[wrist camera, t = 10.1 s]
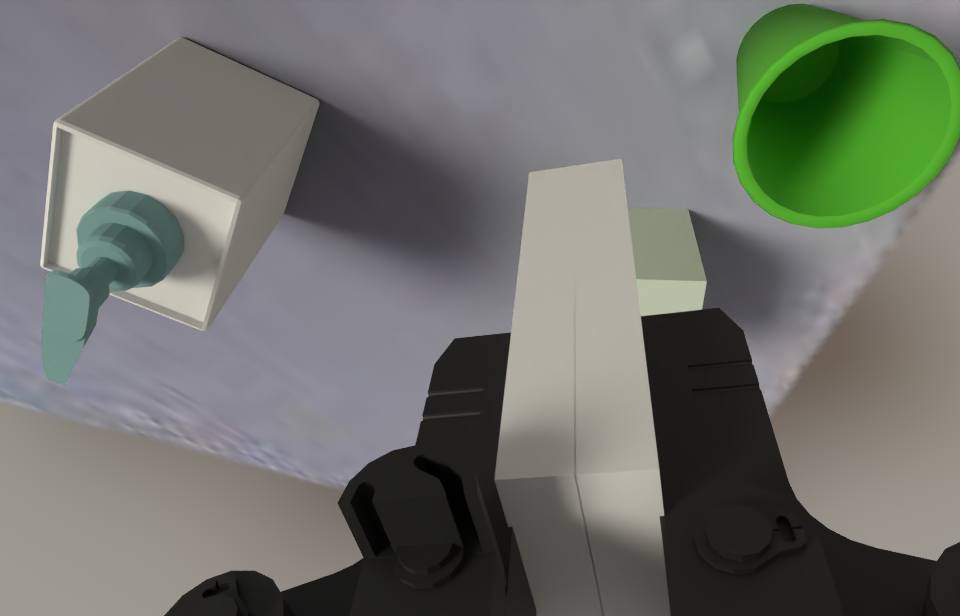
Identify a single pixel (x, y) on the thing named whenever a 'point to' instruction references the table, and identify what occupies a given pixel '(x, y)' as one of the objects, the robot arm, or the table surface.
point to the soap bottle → (164, 191)
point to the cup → (841, 115)
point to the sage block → (666, 261)
